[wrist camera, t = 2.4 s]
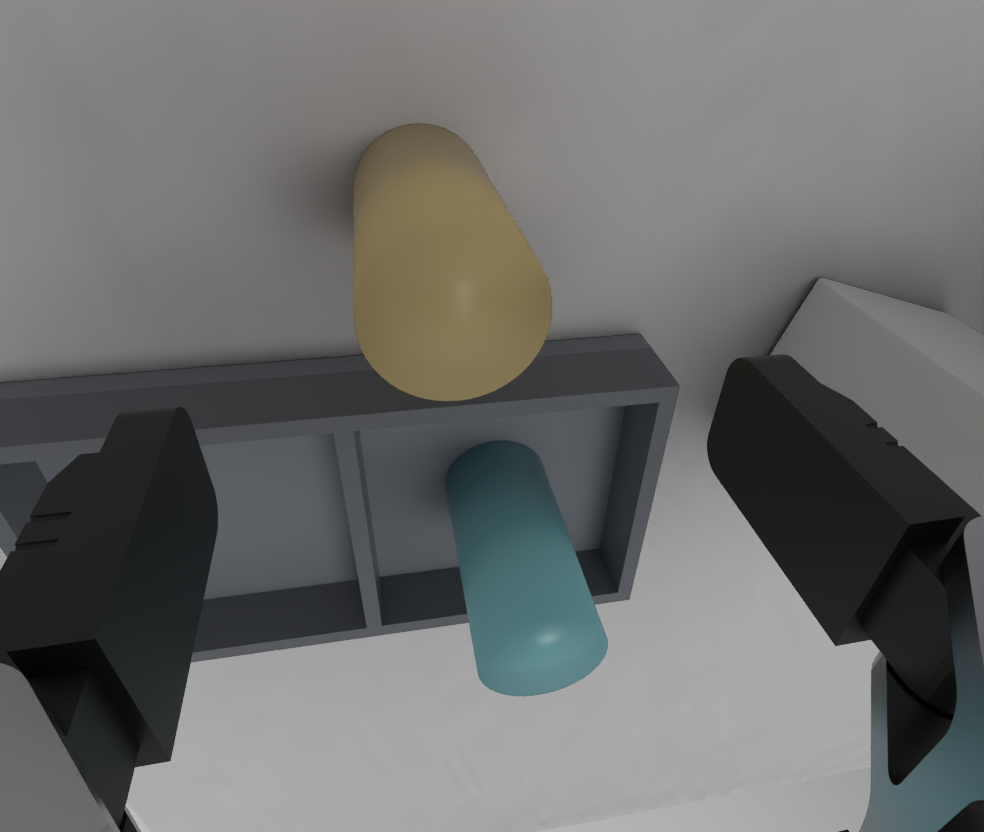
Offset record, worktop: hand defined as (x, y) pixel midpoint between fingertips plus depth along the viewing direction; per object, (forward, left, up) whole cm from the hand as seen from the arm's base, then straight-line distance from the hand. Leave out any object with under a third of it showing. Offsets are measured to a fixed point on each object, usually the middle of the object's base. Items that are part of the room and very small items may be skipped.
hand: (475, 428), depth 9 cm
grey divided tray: (+3, +11, -12) cm, 17 cm away
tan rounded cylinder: (0, 0, -12) cm, 12 cm away
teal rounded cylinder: (-3, +11, -11) cm, 16 cm away
